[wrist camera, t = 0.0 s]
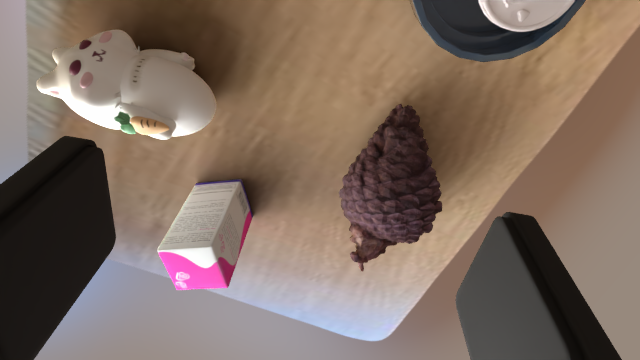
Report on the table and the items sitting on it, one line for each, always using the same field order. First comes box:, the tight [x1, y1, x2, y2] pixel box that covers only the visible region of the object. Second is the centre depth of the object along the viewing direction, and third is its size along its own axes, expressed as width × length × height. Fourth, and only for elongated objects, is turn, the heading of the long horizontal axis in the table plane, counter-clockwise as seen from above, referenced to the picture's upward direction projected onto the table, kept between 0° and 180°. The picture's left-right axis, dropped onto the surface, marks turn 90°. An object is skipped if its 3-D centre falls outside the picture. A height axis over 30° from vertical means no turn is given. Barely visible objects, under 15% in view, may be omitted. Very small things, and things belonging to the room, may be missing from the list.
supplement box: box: [157, 179, 253, 290], centre depth 44 cm, size 6×6×12 cm
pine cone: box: [339, 104, 442, 271], centre depth 42 cm, size 18×10×10 cm
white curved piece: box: [37, 30, 216, 140], centre depth 38 cm, size 10×8×15 cm
